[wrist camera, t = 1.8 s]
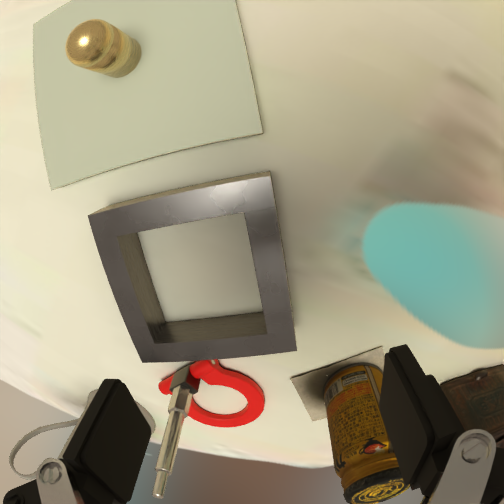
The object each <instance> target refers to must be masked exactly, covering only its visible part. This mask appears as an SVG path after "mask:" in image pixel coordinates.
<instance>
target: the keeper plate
mask: <svg viewBox="0 0 504 504" xmlns="http://www.w3.org/2000/svg"><path fill="white" fill-rule="evenodd" d="M91 19H101V20H104V21H107V22H108V23H110V24H112V25H113V26H115V27H116V28H118V29H120V30H121V31H123V32H124V33H126V34H127V35H129V36H130V37H132V38H133V39H135V40H136V41H137V42H138V43H139V44H140V46H141V51H142V53H141V58H140V61H139V63H138V65H137V66H136V68H135V69H134V70H133V71H132V72H130V73H129V74H128V75H126V76H123V77H119V78H113V77H110V76H107V75H104V74H101V73H97V72H94V71H91V70H88V69H84V68H81V67H78V66H76V65H74V64H72V63H71V62H70V61H69V59H68V58H67V55H66V51H65V45H66V41H67V38H68V36H69V34H70V33H71V31H72V30H73V29H74V28H75V27H76V26H77V25H79V24H80V23H82V22H84V21H87V20H91ZM33 64H34V83H35V96H36V106H37V115H38V122H39V130H40V136H41V142H42V148H43V154H44V159H45V164H46V169H47V174H48V179H49V183H50V188H51V190H54V189H57V188H60V187H63V186H66V185H69V184H72V183H74V182H77V181H80V180H83V179H86V178H89V177H92V176H94V175H97V174H101V173H104V172H107V171H110V170H113V169H116V168H119V167H123V166H126V165H129V164H133V163H136V162H140V161H143V160H147V159H150V158H154V157H158V156H161V155H165V154H169V153H173V152H177V151H181V150H185V149H189V148H194V147H198V146H202V145H207V144H212V143H216V142H221V141H226V140H231V139H236V138H241V137H247V136H252V135H258V134H263V130H262V125H261V120H260V114H259V109H258V104H257V99H256V94H255V89H254V84H253V79H252V74H251V69H250V64H249V60H248V55H247V50H246V45H245V41H244V36H243V32H242V27H241V22H240V18H239V14H238V9H237V5H236V0H72V1H70V2H68V3H66V4H65V5H63V6H61V7H60V8H58V9H56V10H55V11H53V12H52V13H50V14H48V15H47V16H45V17H44V18H42V19H41V20H39V21H38V22H36V23H35V24H34V25H33Z"/></svg>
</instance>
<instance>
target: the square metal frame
mask: <svg viewBox="0 0 504 504" xmlns="http://www.w3.org/2000/svg"><path fill="white" fill-rule="evenodd" d="M242 212H244V214H245V219H246V224H247V229H248V235H249V240H250V245H251V250H252V255H253V260H254V265H255V271H256V276H257V281H258V286H259V291H260V296H261V302H262V307H263V312H258V313H250V314H242V315H233V316H224V317H215V318H206V319H196V320H186V321H175V322H166V321H165V319H164V316H163V313H162V310H161V307H160V304H159V302H158V299H157V296H156V293H155V290H154V287H153V284H152V281H151V278H150V274H149V271H148V268H147V265H146V262H145V258H144V255H143V252H142V248H141V245H140V241H139V238H138V234H137V232H140V231H145V230H150V229H155V228H160V227H165V226H171V225H176V224H181V223H186V222H192V221H197V220H203V219H208V218H214V217H219V216H225V215H231V214H236V213H242ZM88 218H89V222H90V225H91V229H92V232H93V236H94V239H95V242H96V245H97V248H98V252H99V255H100V258H101V261H102V264H103V267H104V270H105V273H106V275H107V278H108V281H109V284H110V286H111V289H112V292H113V295H114V297H115V300H116V302H117V305H118V307H119V310H120V313H121V315H122V317H123V320H124V322H125V325H126V327H127V329H128V332H129V334H130V336H131V339H132V341H133V343H134V345H135V348H136V350H137V352H138V354H139V356H140V359H141V361H142V363H148V362H180V361H199V360H214V359H227V358H238V357H249V356H258V355H267V354H275V353H283V352H291V351H297V346H296V337H295V329H294V321H293V314H292V307H291V300H290V293H289V286H288V279H287V273H286V266H285V259H284V253H283V246H282V240H281V234H280V228H279V222H278V215H277V209H276V203H275V197H274V192H273V186H272V180H271V174H270V171H267V172H261V173H255V174H249V175H244V176H238V177H233V178H227V179H222V180H217V181H212V182H207V183H202V184H197V185H192V186H188V187H183V188H178V189H174V190H170V191H165V192H161V193H157V194H152V195H148V196H144V197H140V198H136V199H132V200H128V201H124V202H120V203H116V204H113V205H109V206H107V207H104V208H102V209H100V210H98V211H96V212H94V213H92V214H90V215H88Z"/></svg>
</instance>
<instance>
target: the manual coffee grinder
mask: <svg viewBox="0 0 504 504" xmlns="http://www.w3.org/2000/svg"><path fill="white" fill-rule="evenodd" d="M441 389H442V390H443V392H444V394H445V396H446V397H447V399H448V401H449V402H450V404H451V406H452V408H453V409H454V411H455V413H456V415H457V417H458V418H459V420H460V422H461V424H462V426H463V427H464V429H465V431H468V430H473V429H481V430H484V431H487V432H488V433H490V434H491V435H492V436H493V438H494V439H495V443H496V447H499V448H504V365H500V366H496V367H493V368H489V369H484V370H480V371H477V372H473V373H471V374H469V375H466V376H463V377H460V378H456V379H454V380H452V381H449V382H447V383H444V384H442V385H441Z"/></svg>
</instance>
